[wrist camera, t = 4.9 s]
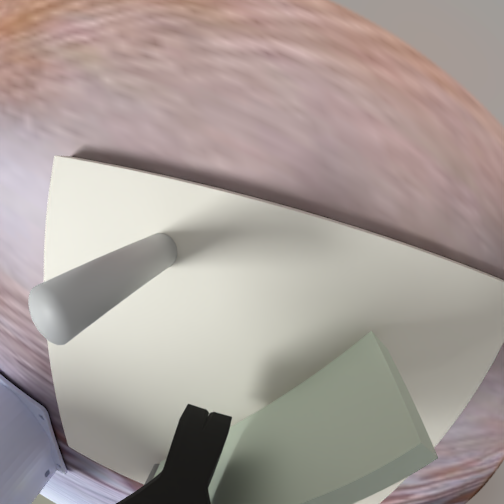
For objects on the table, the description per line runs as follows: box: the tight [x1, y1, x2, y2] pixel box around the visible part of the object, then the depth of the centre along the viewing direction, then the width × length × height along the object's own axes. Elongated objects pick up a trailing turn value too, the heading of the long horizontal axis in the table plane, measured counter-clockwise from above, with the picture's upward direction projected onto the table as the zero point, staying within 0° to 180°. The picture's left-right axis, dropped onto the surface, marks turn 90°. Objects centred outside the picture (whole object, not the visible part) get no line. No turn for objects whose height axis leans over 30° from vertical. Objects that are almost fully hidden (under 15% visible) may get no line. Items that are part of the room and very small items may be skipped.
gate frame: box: [29, 156, 504, 504], centre depth 9 cm, size 18×20×6 cm
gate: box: [144, 331, 438, 504], centre depth 8 cm, size 13×1×5 cm, turn 135°
